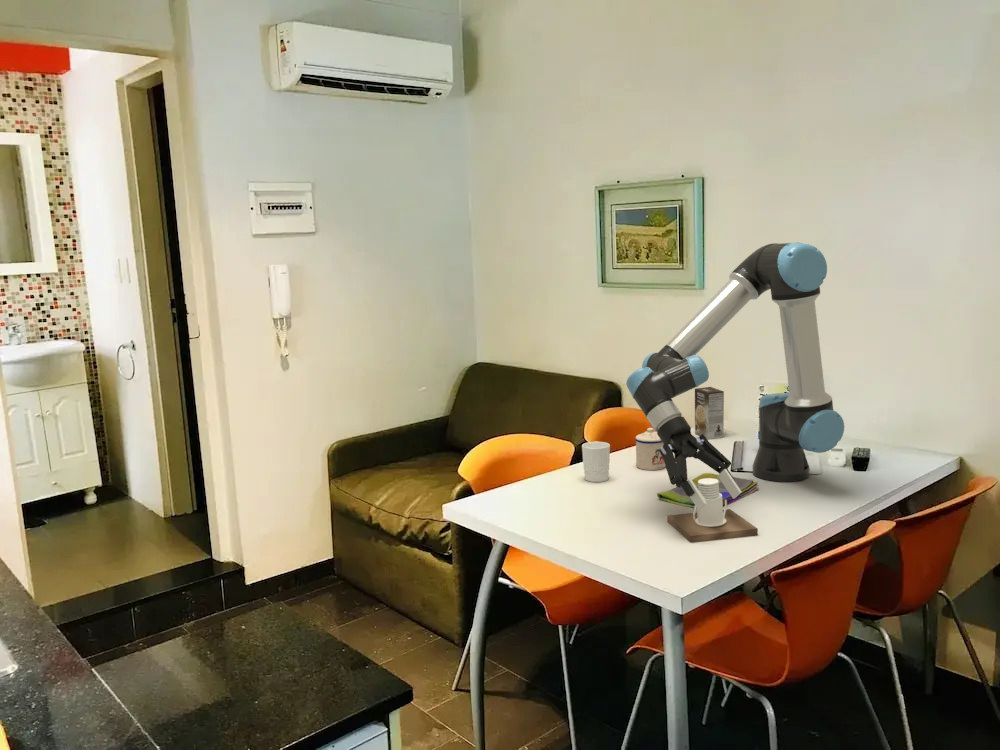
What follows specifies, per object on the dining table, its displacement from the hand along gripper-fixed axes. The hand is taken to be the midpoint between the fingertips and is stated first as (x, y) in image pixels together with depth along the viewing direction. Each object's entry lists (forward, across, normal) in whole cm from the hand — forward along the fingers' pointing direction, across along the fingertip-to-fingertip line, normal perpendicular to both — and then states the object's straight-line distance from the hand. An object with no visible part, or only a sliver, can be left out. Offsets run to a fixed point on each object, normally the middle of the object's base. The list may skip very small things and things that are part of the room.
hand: (720, 500), depth 183 cm
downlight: (+2, 0, -6) cm, 6 cm away
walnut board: (+3, 0, -7) cm, 8 cm away
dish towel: (-9, -19, -20) cm, 29 cm away
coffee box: (-39, -68, -49) cm, 92 cm away
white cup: (-30, -7, -41) cm, 51 cm away
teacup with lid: (-30, -28, -40) cm, 57 cm away
